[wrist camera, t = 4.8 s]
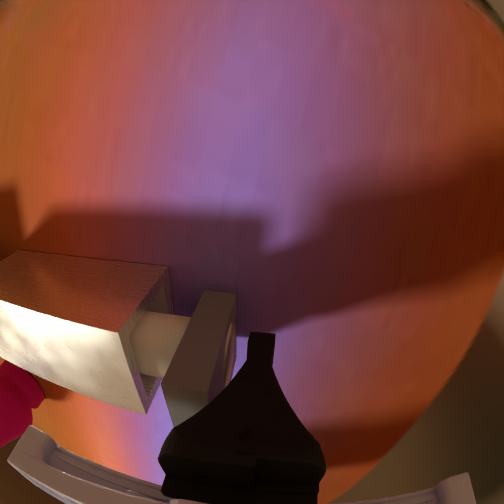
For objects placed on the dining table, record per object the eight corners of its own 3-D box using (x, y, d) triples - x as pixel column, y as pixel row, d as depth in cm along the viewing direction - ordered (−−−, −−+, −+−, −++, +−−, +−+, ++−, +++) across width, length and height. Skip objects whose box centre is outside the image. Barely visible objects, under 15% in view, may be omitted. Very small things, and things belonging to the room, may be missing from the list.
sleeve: (168, 266, 14) (118, 332, 9) (178, 343, 16) (146, 414, 11) (18, 249, 15) (-35, 286, 10) (37, 311, 17) (-5, 353, 13)
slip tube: (236, 293, 13) (207, 392, 8) (236, 356, 15) (215, 449, 10) (-32, 254, 15) (-78, 286, 10) (-19, 296, 17) (-59, 331, 12)
